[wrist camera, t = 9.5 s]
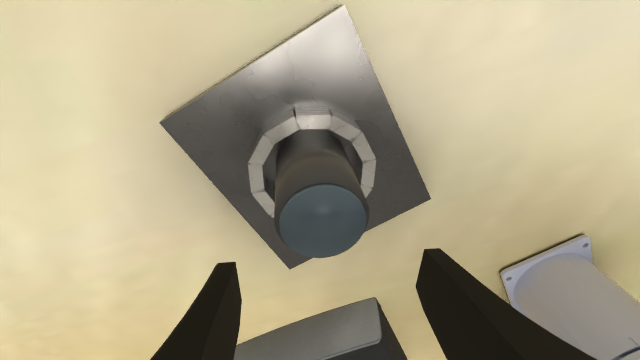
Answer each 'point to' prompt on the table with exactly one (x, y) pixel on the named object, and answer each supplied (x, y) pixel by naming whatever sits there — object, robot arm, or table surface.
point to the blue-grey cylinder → (317, 196)
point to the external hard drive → (329, 337)
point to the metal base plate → (299, 126)
